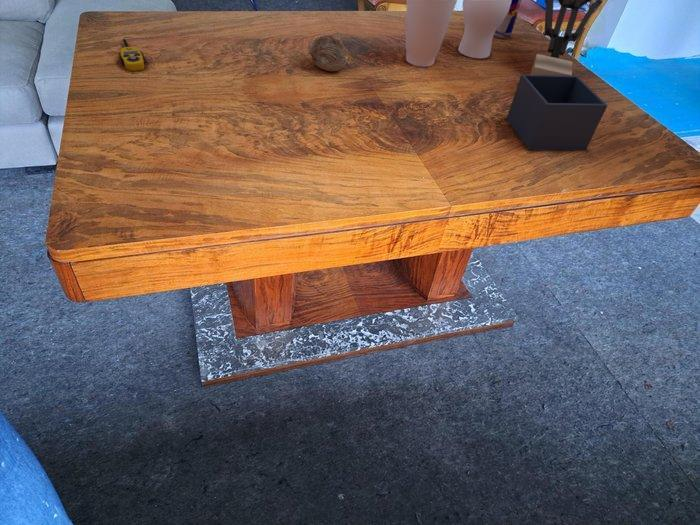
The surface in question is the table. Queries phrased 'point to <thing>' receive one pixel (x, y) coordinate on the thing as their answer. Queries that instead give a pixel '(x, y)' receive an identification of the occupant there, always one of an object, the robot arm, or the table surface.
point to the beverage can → (508, 21)
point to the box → (555, 112)
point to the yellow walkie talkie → (132, 58)
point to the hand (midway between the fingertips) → (551, 66)
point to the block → (551, 66)
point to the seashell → (327, 53)
